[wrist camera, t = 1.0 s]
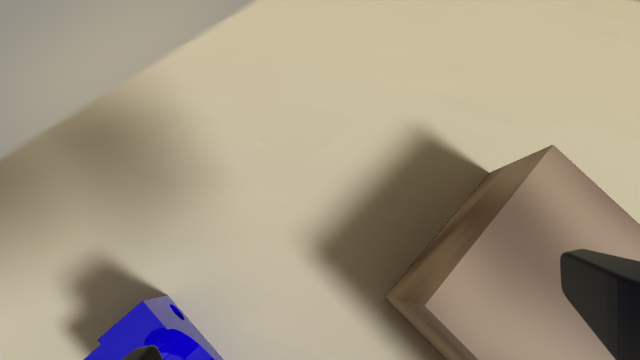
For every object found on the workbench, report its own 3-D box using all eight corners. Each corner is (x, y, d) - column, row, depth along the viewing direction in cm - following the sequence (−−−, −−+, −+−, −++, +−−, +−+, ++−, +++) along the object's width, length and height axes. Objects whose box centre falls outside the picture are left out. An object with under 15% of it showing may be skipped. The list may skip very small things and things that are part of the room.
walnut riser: (554, 469, 18) (657, 538, 14) (384, 297, 19) (424, 305, 14) (642, 316, 21) (753, 329, 16) (490, 172, 22) (553, 144, 17)
